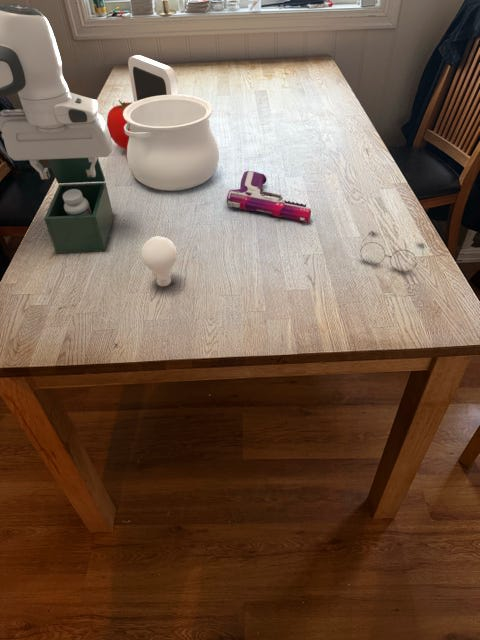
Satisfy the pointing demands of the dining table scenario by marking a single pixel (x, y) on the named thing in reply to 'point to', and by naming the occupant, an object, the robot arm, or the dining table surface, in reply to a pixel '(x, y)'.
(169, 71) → the computer
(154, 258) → the light bulb
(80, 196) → the pill bottle
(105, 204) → the chest
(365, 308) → the dining table surface
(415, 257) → the eyeglasses
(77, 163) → the lid
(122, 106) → the tomato
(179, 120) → the pot
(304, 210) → the toy gun
